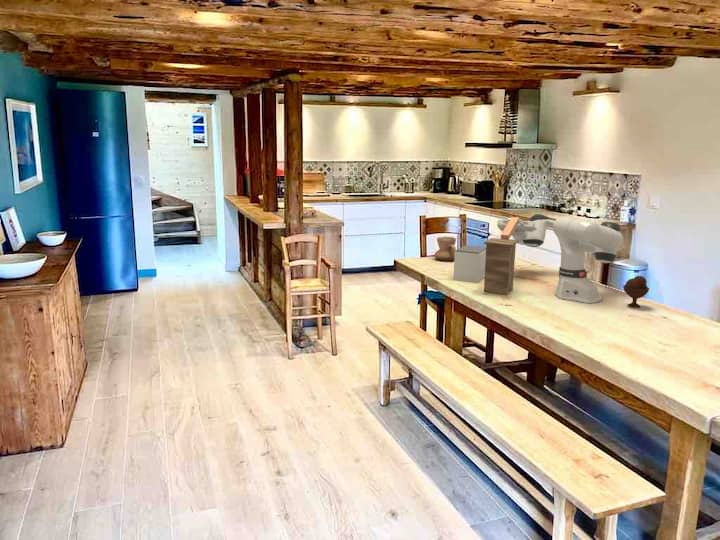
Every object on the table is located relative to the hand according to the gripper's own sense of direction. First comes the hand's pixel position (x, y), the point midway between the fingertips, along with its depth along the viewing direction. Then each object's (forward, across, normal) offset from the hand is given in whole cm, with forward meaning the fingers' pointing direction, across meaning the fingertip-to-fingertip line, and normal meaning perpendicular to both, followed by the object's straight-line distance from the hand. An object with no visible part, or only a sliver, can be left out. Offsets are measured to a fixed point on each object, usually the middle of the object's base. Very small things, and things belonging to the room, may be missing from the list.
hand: (513, 219), depth 324 cm
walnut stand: (+6, 0, -42) cm, 43 cm away
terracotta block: (+4, 0, -8) cm, 9 cm away
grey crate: (-12, +21, -32) cm, 40 cm away
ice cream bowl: (+4, -64, -41) cm, 76 cm away
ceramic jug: (-45, +49, -13) cm, 68 cm away
